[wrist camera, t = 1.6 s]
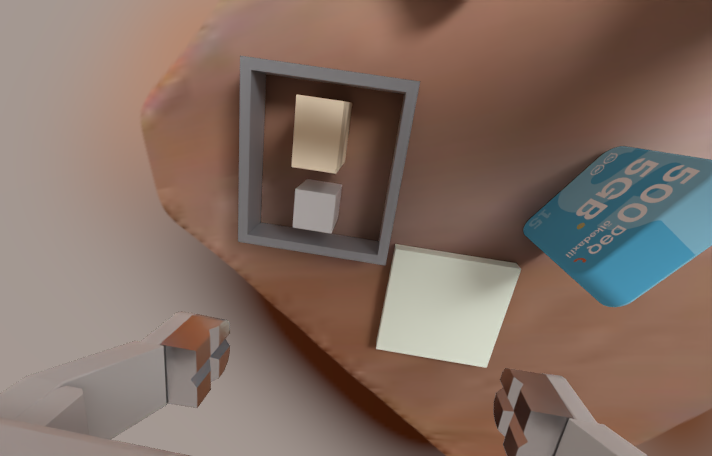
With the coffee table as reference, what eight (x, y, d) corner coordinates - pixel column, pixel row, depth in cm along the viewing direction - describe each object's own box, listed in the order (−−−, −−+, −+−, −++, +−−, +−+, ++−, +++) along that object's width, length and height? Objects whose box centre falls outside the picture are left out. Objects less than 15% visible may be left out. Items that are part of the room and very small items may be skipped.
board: (395, 243, 38) (395, 248, 37) (516, 263, 38) (521, 269, 36) (376, 341, 43) (376, 348, 42) (483, 359, 43) (486, 367, 41)
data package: (612, 143, 33) (732, 161, 21) (641, 172, 33) (772, 205, 22) (517, 228, 36) (576, 281, 25) (545, 253, 37) (614, 316, 26)
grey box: (306, 178, 36) (295, 188, 32) (342, 184, 36) (336, 195, 32) (304, 212, 38) (292, 227, 33) (338, 218, 38) (331, 233, 33)
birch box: (313, 97, 33) (296, 94, 27) (352, 102, 33) (344, 101, 27) (308, 158, 36) (291, 169, 29) (344, 163, 36) (335, 176, 29)
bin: (256, 61, 33) (240, 55, 29) (416, 84, 32) (420, 81, 28) (252, 229, 39) (238, 241, 35) (385, 250, 38) (385, 265, 35)
